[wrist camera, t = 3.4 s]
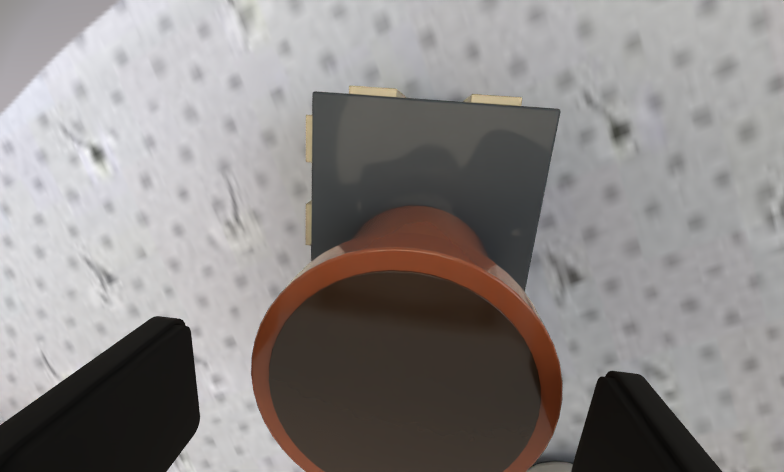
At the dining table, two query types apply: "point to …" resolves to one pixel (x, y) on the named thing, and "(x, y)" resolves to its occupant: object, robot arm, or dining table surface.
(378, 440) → the terracotta pot
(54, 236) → the dining table surface
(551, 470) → the can
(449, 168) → the dark grey striped block
